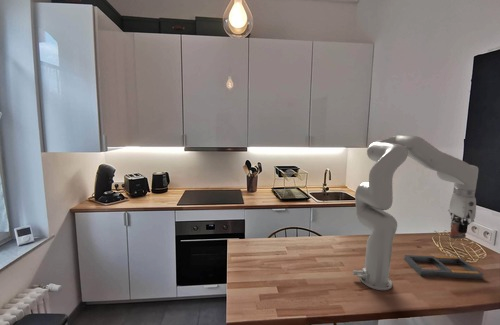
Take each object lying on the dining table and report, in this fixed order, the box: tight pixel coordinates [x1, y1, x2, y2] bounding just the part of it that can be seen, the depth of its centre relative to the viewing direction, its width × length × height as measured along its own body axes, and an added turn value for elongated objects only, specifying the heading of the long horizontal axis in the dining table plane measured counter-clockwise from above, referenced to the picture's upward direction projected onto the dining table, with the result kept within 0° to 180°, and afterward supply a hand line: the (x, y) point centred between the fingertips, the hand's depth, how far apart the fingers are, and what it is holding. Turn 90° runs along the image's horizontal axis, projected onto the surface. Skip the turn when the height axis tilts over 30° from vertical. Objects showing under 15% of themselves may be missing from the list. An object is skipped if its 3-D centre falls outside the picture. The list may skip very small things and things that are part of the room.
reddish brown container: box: [449, 215, 467, 240], centre depth 118 cm, size 8×3×10 cm, turn 106°
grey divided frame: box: [403, 254, 484, 280], centre depth 122 cm, size 26×14×3 cm, turn 86°
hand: (458, 230), depth 119 cm, fingers closed on reddish brown container, 4 cm apart
